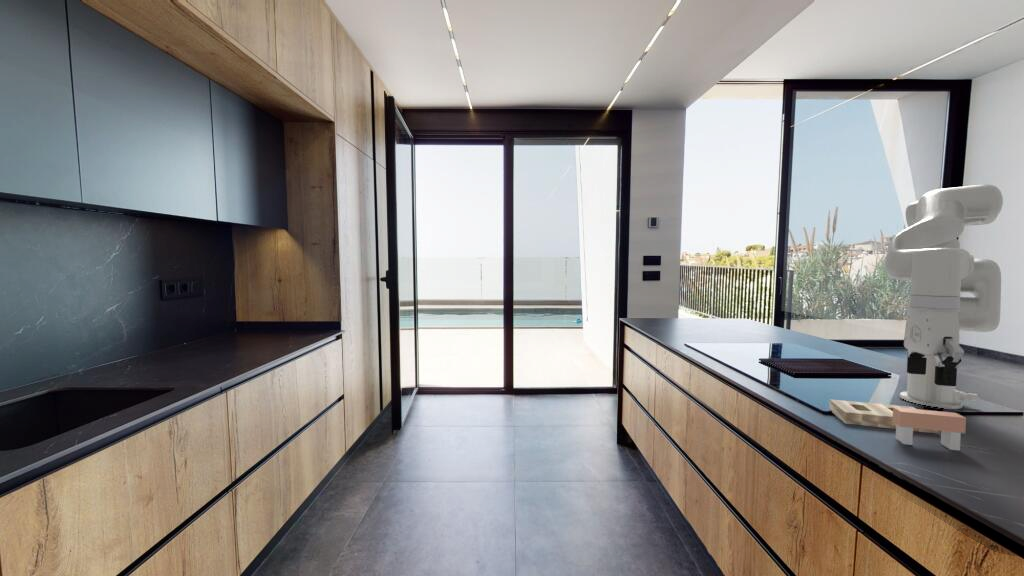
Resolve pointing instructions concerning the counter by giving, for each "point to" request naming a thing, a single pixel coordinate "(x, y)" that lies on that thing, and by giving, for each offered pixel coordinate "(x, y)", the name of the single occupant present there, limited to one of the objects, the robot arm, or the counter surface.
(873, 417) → the beige flat slotted block
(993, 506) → the counter surface
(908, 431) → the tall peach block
